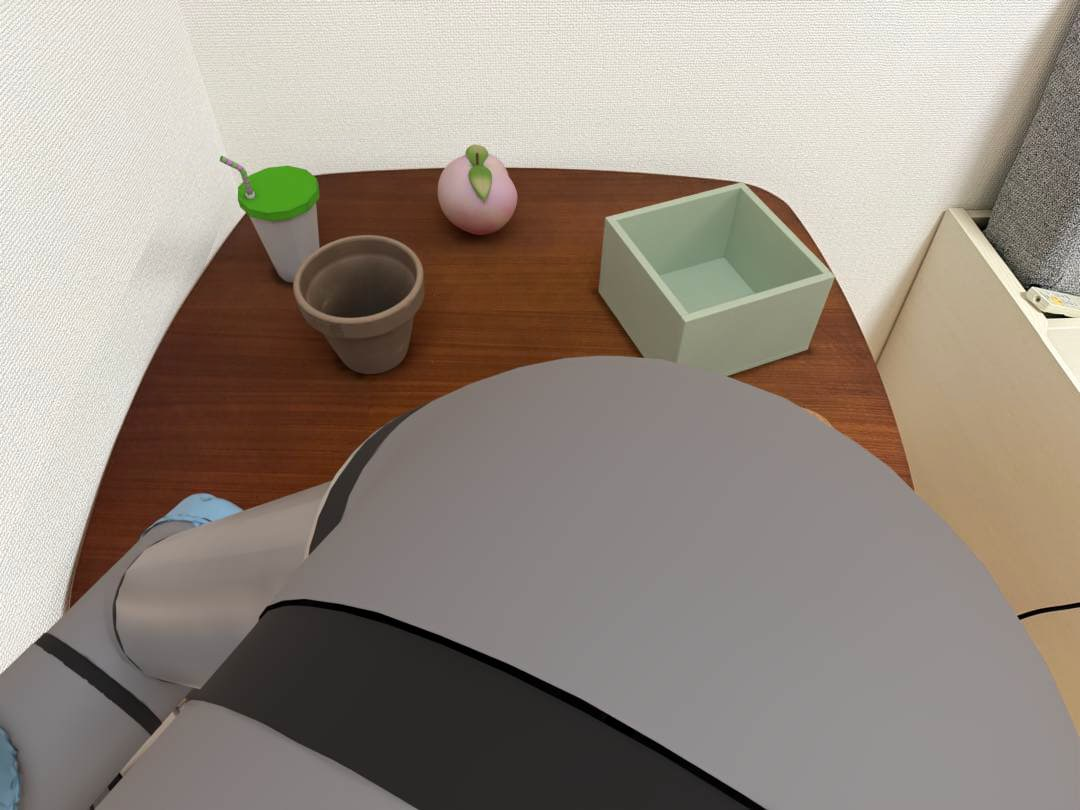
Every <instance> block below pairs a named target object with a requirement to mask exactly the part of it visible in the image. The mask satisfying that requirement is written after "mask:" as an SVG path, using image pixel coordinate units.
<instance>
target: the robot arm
mask: <svg viewBox="0 0 1080 810" xmlns="http://www.w3.org/2000/svg"><path fill="white" fill-rule="evenodd" d="M802 408H803V407H801V406H799V405H797V404H796V403H794V402H792V400H789V399H788V398H787V397H786V398H785V397H783V396H781V395H778V394H775V393H773V392H770V391H767V390H765V389H762V388H759V387H757V386H754V385H751V384H749V383H746V382H744V381H740V380H738V379H735V378H733V377H730V376H724V375H722V374H719V373H715V372H711V371H707V370H703V369H699V368H695V367H691V366H687V365H683V364H679V363H675V362H671V361H667V360H663V359H651V358H644V357H637V356H636V357H635V356H624V355H590V356H576V357H564V358H559V359H554V360H549V361H544V362H540V363H534V364H529V365H524V366H519V367H516V368H512V369H510V370H507V371H504V372H500V373H498V374H495V375H492V376H489V377H486V378H483V379H480V380H478V381H474V382H471V383H469V384H467V385H465V386H463V387H460V388H458V389H456V390H454V391H451V392H449V393H447V394H445V395H443V396H440V397H438V398H436V399H433V400H431V401H429V402H426V403H424V404H422V405H421V404H420V405H418V406H417V407H414V408H412V409H410V410H408V411H406V412H404V413H402V414H401V415H399V416H396V417H395V418H393V419H392V420H390V421H388V422H387V423H385V424H384V425H383V426H381V427H380V428H378V429H377V430H375V431H374V432H372V433H371V434H370V435H369V436H368V437H367V438H366V439H365V440H364V441H363V442H362V443H361V444H360V445H359V446H358V447H357V448H356V449H355V450H353V452H352V453H351V455H349V457H348V458H347V459H346V461H344V463H343V465H341V467H340V468H339V470H338V471H336V473H335V475H334V477H333V479H332V480H329V481H327V482H324V483H321V484H318V485H315V486H312V487H308V488H307V489H303V490H301V491H297V492H295V493H292V494H288V495H285V496H282V497H280V498H277V499H274V500H271V501H268V502H265V503H262V504H259V505H256V506H254V507H251V508H247V509H245V510H244V509H242V508H241V507H240V506H238V505H237V504H234V503H233V502H231V501H229V500H227V499H224V498H221V497H217V496H215V495H213V494H210V493H205V492H203V493H202V492H200V493H194V494H191V495H188V496H187V497H186V498H184V499H182V500H181V501H180V502H179V503H178V504H176V506H175V507H173V508H172V509H171V510H170V511H169V512H168V513H166V515H164V516H163V517H161V518H159V519H157V520H156V521H155V522H154V523H153V524H151V525H150V526H149V527H148V528H147V529H145V530H144V532H143V533H142V534H141V535H140V536H139V540H138V541H137V542H136V543H135V544H134V545H132V547H131V548H130V549H129V550H128V551H127V552H126V553H125V554H124V555H123V556H122V557H121V558H120V559H119V560H117V562H116V563H115V564H114V565H113V566H112V567H111V568H109V569H108V571H106V572H105V573H104V574H103V575H102V576H101V577H100V578H99V579H98V580H97V581H96V582H95V583H94V584H93V585H92V586H91V587H90V588H89V589H88V590H87V591H86V592H85V593H83V595H82V596H81V597H80V598H79V599H78V600H77V601H76V602H75V603H74V604H73V605H72V606H71V607H70V608H69V609H67V611H66V612H65V613H64V614H63V615H62V616H61V617H60V618H59V619H58V620H57V621H56V622H55V623H54V624H53V625H52V626H51V627H50V628H49V629H48V630H47V631H46V632H42V634H41V635H40V636H39V637H38V638H37V639H36V640H35V641H34V642H32V643H31V644H30V645H29V646H28V647H27V648H26V649H25V650H24V651H23V652H22V653H21V654H20V655H18V657H17V658H16V659H14V660H13V662H11V663H10V664H9V665H8V666H7V668H5V669H4V670H3V671H2V672H1V673H0V810H1080V735H1079V733H1078V730H1077V728H1076V725H1075V724H1074V722H1073V719H1072V717H1071V715H1070V712H1069V710H1068V707H1067V705H1066V702H1065V701H1064V699H1063V697H1062V694H1061V691H1060V690H1059V687H1058V685H1057V683H1056V681H1055V679H1054V675H1053V674H1052V671H1051V670H1050V667H1049V666H1048V664H1047V662H1046V660H1045V658H1044V657H1043V655H1042V653H1041V652H1040V650H1039V649H1038V647H1037V646H1036V643H1035V642H1034V640H1033V639H1032V637H1031V636H1030V634H1029V632H1028V631H1027V630H1026V628H1025V626H1024V625H1023V623H1022V622H1021V620H1020V618H1019V617H1018V615H1017V614H1016V612H1015V610H1014V609H1013V607H1012V606H1011V604H1010V603H1009V601H1008V599H1007V598H1006V597H1005V595H1004V593H1003V591H1002V589H1001V588H1000V587H999V585H998V584H997V582H996V581H995V579H994V577H993V576H992V574H991V573H990V571H989V569H988V568H987V565H985V564H984V563H983V562H982V561H981V559H980V558H979V557H978V556H977V555H976V554H975V552H973V550H972V549H971V548H970V547H969V546H968V545H967V544H966V543H965V541H964V540H963V539H962V538H961V537H960V536H959V535H958V534H957V532H956V531H954V529H953V528H952V527H951V525H949V523H947V522H946V520H944V518H943V517H942V516H940V514H938V513H937V512H936V511H935V510H934V509H933V508H932V507H931V506H930V505H929V504H928V503H927V502H926V501H925V500H924V499H923V498H922V497H921V496H920V495H919V494H918V493H917V492H916V491H915V490H914V489H912V487H911V486H909V484H907V483H906V482H905V481H904V480H903V478H901V477H900V475H898V474H897V473H896V472H895V471H894V470H893V469H892V468H891V467H890V466H889V465H887V464H886V463H885V462H884V461H882V460H881V459H879V458H878V457H876V456H875V455H874V454H873V453H871V452H870V451H868V450H867V449H866V448H864V447H863V446H862V445H861V444H859V443H858V442H856V441H855V440H853V438H850V437H848V436H847V435H846V434H844V433H842V432H840V431H839V430H837V429H836V428H834V427H833V426H832V425H831V426H832V427H831V426H829V425H828V424H826V423H825V422H823V421H821V420H820V419H818V418H817V417H815V416H813V415H812V414H810V413H809V412H807V411H805V410H804V409H802ZM184 699H185V701H183V700H184Z"/></svg>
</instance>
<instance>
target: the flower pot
mask: <svg viewBox="0 0 1080 810" xmlns="http://www.w3.org/2000/svg"><path fill="white" fill-rule="evenodd" d="M292 289H293V295H294V297H295V301H296V303H297V306H298V308H299V311H300V313H301V315H302V317H303V319H304V320H305V321H306V322H307V324H308V325H310V326H311V327H312V328H313V329H315V330H316V331H318V332H320V333H322V334H323V336H324V337H325V339H326V341H327V342H328V343H329V345H330V347H331V348H332V349H333V351H334V352H335V354H336V355H337V356H338V357H339V359H340V360H341V361H342V363H343V364H344V365H345V366H346V367H347V368H349V369H350V370H352V371H353V372H356V373H358V374H362V375H379V374H382V373H386V372H389V371H392V370H393V369H395V368H396V367H398V365H400V364H401V363H402V362H403V360H404V359H405V357H406V355H407V353H408V351H409V347H410V342H411V336H412V330H413V324H414V317H415V315H416V314H417V312H418V311H419V309H420V308H421V306H422V304H423V302H424V298H425V293H426V292H425V291H426V287H425V272H424V268H423V264H422V262H421V260H420V258H419V257H418V255H417V254H416V252H415V251H413V250H412V249H411V248H410V247H409V246H407V244H405V243H403V242H402V241H399V240H397V239H394V238H390V237H387V236H383V235H375V234H359V235H351V236H347V237H343V238H339V239H336V240H333V241H331V242H329V243H326V244H325V245H322V246H321V247H320V248H319V249H317V250H316V251H314V252H313V253H312V254H311V255H309V256H308V257H307V258H306V259H305V260H304V261H303V262H302V264H301V265H300V267H299V268H298V270H297V272H296V274H295V277H294V282H293V283H292Z"/></svg>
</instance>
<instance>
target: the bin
mask: <svg viewBox="0 0 1080 810" xmlns="http://www.w3.org/2000/svg"><path fill="white" fill-rule="evenodd" d="M835 279H836V275H835V274H834V273H833V272H832V271H831V270H830V269H829V268H828V267H827V266H826V265H825V264H824V263H823V262H822V261H821V260H820V259H819V258H818V256H817V255H815V253H813V252H812V251H811V249H809V248H808V246H806V245H805V243H803V241H802V240H801V239H800V238H799V237H797V235H796V234H795V233H794V232H793V231H792V230H791V229H790V228H789V227H788V226H787V225H786V224H785V223H784V222H783V221H782V219H780V218H779V217H778V216H777V215H776V214H775V213H774V212H773V210H772V209H770V207H768V206H767V205H766V203H765V202H763V200H761V198H759V197H758V195H756V193H755V192H754V191H753V190H751V188H750V187H749V186H748V185H746V183H745V182H744V181H741V182H737V183H733V184H730V185H729V184H728V185H726V186H722V187H718V188H714V189H710V190H706V191H702V192H698V193H695V194H690V195H686V196H682V197H679V198H675V199H671V200H667V201H664V202H660V203H656V204H652V205H648V206H643V207H639V208H636V209H633V210H628V211H625V212H621V213H616V214H613V215H609V216H606V217H604V227H603V239H602V248H601V260H600V268H599V282H598V290H597V292H598V293H599V295H600V296H601V298H602V299H603V300H604V302H605V304H606V305H607V306H608V308H609V309H610V311H611V312H612V313H613V315H614V317H615V318H616V319H617V320H618V322H619V324H620V325H621V326H622V328H623V329H624V331H625V332H626V334H627V335H628V337H629V338H630V339H631V341H632V342H633V344H634V346H635V347H636V348H637V350H638V351H639V352H640V354H641V356H642V358H651V359H663V360H667V361H671V362H675V363H679V364H683V365H687V366H691V367H695V368H699V369H703V370H707V371H711V372H715V373H719V374H722V375H724V376H727V377H730V376H732V375H735V374H738V373H741V372H744V371H747V370H751V369H753V368H756V367H759V366H762V365H766V364H769V363H772V362H775V361H777V360H780V359H783V358H786V357H787V358H788V357H789V356H793V355H795V354H798V353H802V352H805V351H808V349H809V347H810V345H811V341H812V338H813V336H814V333H815V330H816V328H817V325H818V323H819V320H820V317H821V315H822V312H823V310H824V307H825V305H826V302H827V299H828V296H829V294H830V291H831V290H832V286H833V284H834V281H835Z"/></svg>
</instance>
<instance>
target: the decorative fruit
mask: <svg viewBox="0 0 1080 810" xmlns="http://www.w3.org/2000/svg"><path fill="white" fill-rule="evenodd" d="M437 199H438V203H439V206H440V209H441V210H442V212H443V215H444V216H445V217H446V218H447V220H448V221H449V222H450V223H451V224H453V225H454V226H455V227H457V228H459V229H460V230H462V231H464V232H466V233H469V234H472V235H476V236H485V235H491V234H493V233H495V232H497V231H499V230H501V229H502V228H503V227H504V226H505V225H506V224H507V223H508V222H509V221H510V220H511V218H512V217H513V215H514V213H515V210H516V209H517V208H516V207H517V204H518V192H517V189H516V186H515V184H514V182H513V180H512V179H511V178H510V176H509V172H508V170H507V168H506V166H505V164H504V163H503V162H502V161H501V159H499V158H498V157H497V156H495V155H493V154H491V153H489V150H488V149H487V148H486V147H485V146H483V145H480V144H471V145H469V146H468V147H467V148H466V150H465V154H463V155H461V156H458V157H457V158H455V159H453V160H452V161H450V162H449V163H448V164H447V165H446V166H445V168H444V169H443V170H442V172H441V174H440V176H439V179H438V183H437Z"/></svg>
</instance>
